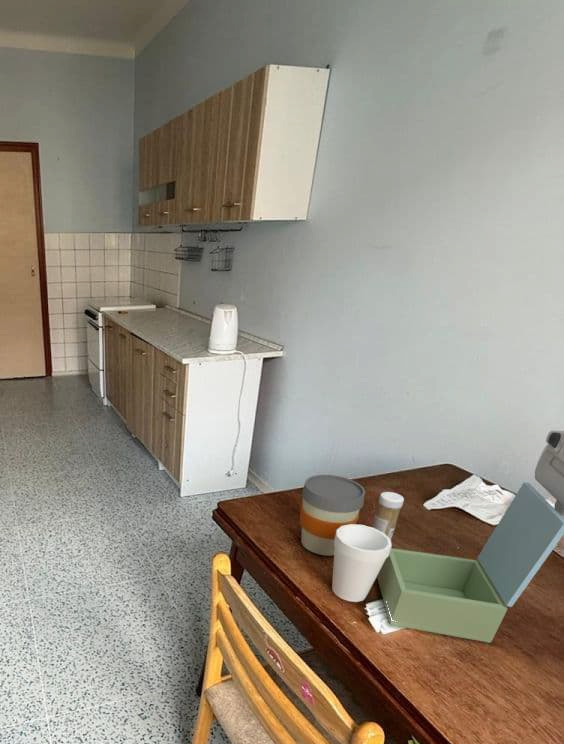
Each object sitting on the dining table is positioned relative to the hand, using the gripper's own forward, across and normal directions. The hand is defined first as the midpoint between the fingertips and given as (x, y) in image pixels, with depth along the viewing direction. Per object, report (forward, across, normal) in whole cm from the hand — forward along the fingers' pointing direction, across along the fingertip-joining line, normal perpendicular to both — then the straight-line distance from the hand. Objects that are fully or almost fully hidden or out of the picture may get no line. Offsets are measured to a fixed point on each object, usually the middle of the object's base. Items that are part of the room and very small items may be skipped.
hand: (560, 531), depth 77 cm
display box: (+20, 0, +14) cm, 24 cm away
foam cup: (+20, +1, +28) cm, 34 cm away
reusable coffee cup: (+20, +17, +32) cm, 41 cm away
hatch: (+3, 0, +5) cm, 6 cm away
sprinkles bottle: (+20, +19, +20) cm, 34 cm away
